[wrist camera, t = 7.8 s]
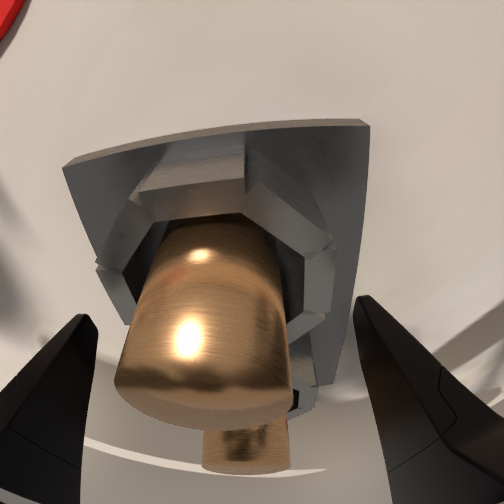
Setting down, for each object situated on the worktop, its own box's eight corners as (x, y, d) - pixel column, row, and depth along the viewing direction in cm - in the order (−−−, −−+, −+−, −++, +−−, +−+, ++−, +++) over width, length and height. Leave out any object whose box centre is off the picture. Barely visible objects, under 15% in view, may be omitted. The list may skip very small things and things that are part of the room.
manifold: (75, 157, 11) (-50, 282, 4) (359, 118, 10) (501, 234, 4) (177, 380, 22) (165, 475, 15) (330, 370, 21) (347, 469, 15)
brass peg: (278, 276, 13) (292, 427, 8) (181, 284, 14) (153, 427, 8) (271, 184, 11) (294, 350, 5) (154, 199, 11) (81, 352, 5)
